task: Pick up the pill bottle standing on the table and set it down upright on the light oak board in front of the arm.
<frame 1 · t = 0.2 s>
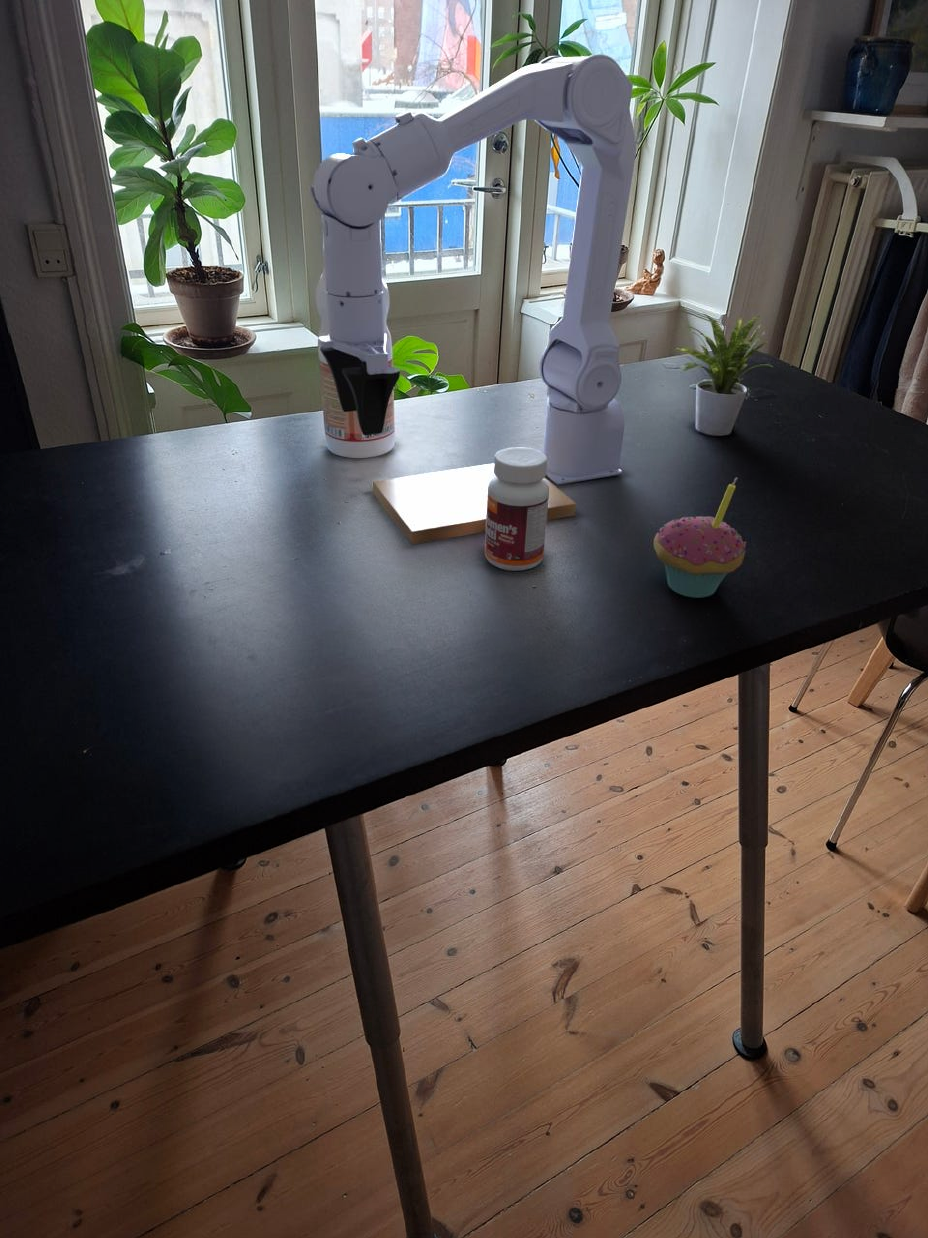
hand: (361, 421, 89), 10 cm above the table, tool pointing down, fingers open, 7 cm apart
pill bottle: (513, 559, 84), on the table
cupcake: (690, 588, 80), on the table
fruit juice: (360, 447, 109), on the table
oak board: (471, 504, 95), on the table
house plant: (712, 427, 119), on the table
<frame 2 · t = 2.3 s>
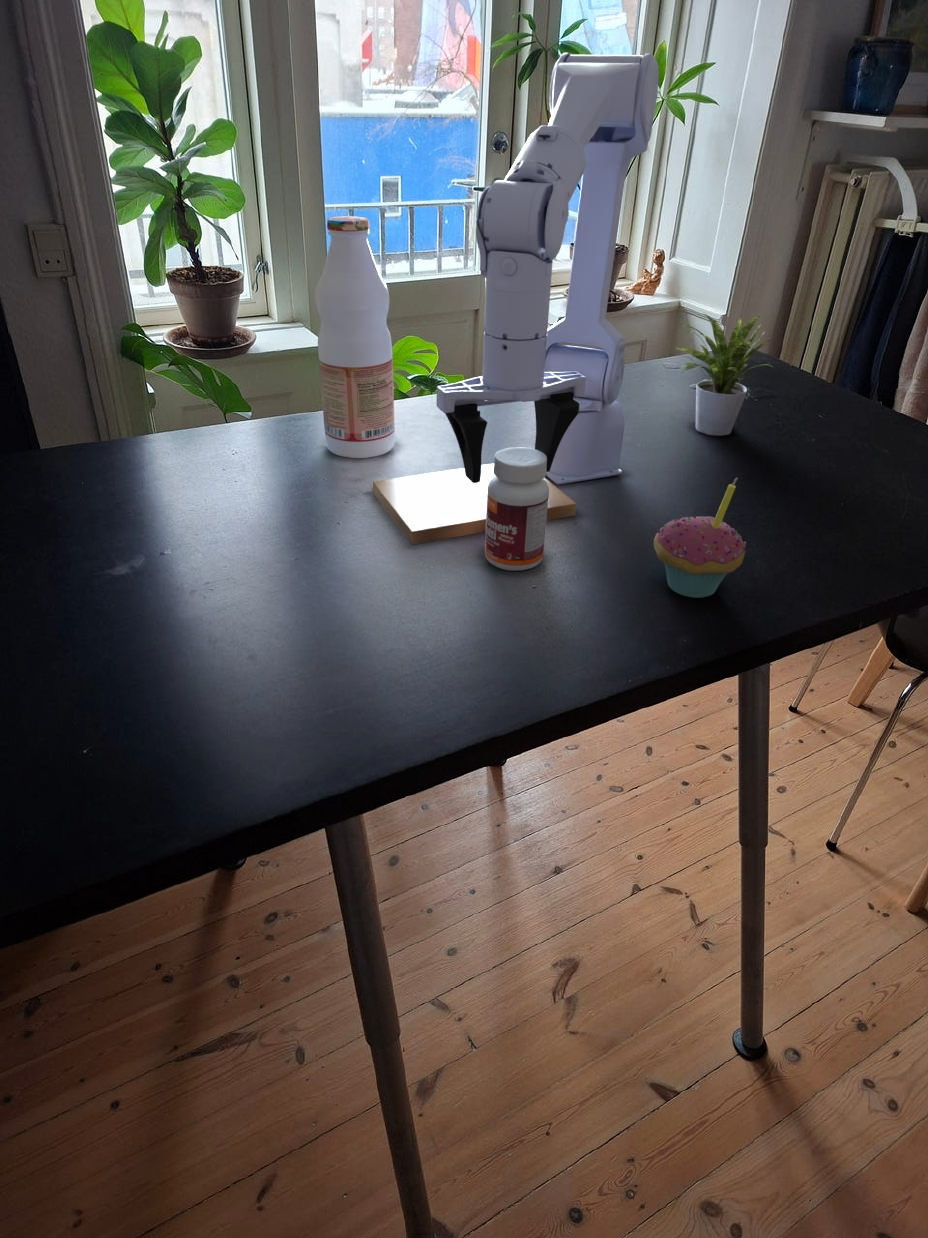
hand: (507, 473, 80), 9 cm above the table, tool pointing down, fingers open, 7 cm apart
nothing on the table moved.
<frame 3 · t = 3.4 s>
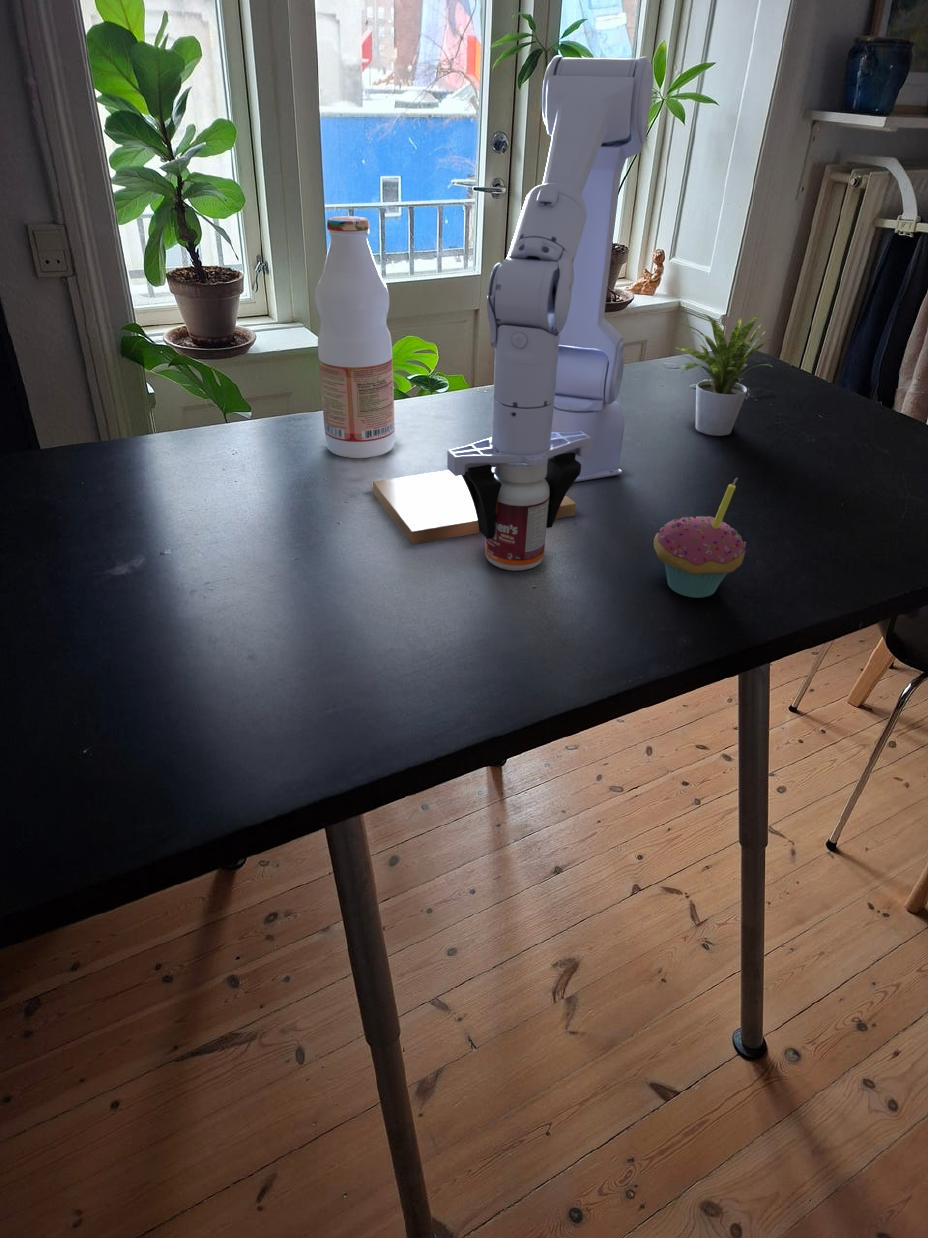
hand: (515, 529, 82), 3 cm above the table, tool pointing down, fingers closed on pill bottle, 6 cm apart
pill bottle: (514, 559, 84), on the table, touching gripper
everything else where it was.
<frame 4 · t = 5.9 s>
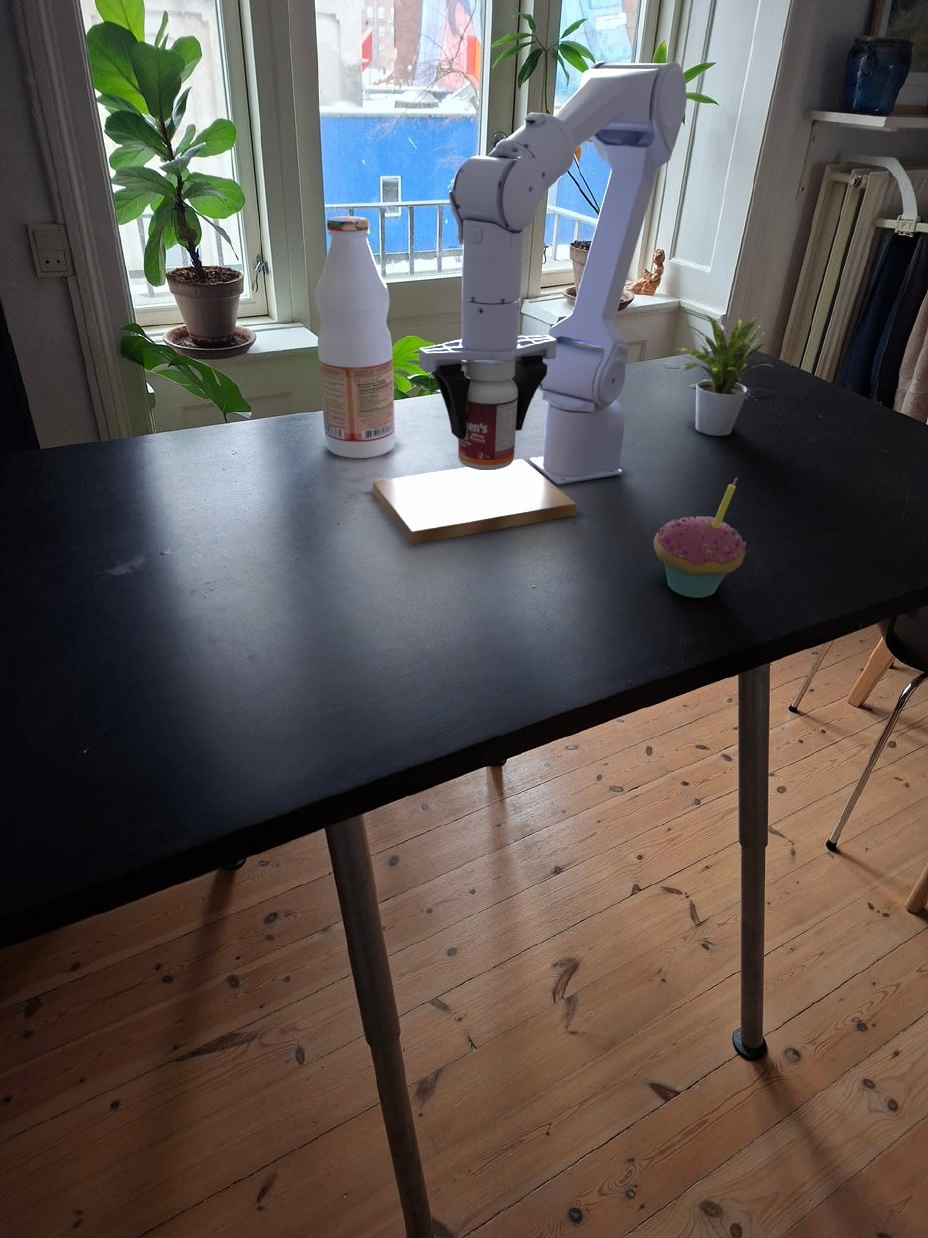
hand: (486, 431, 86), 10 cm above the table, tool pointing down, fingers closed on pill bottle, 6 cm apart
pill bottle: (486, 462, 88), point 7 cm above the table, touching gripper
everything else where it was.
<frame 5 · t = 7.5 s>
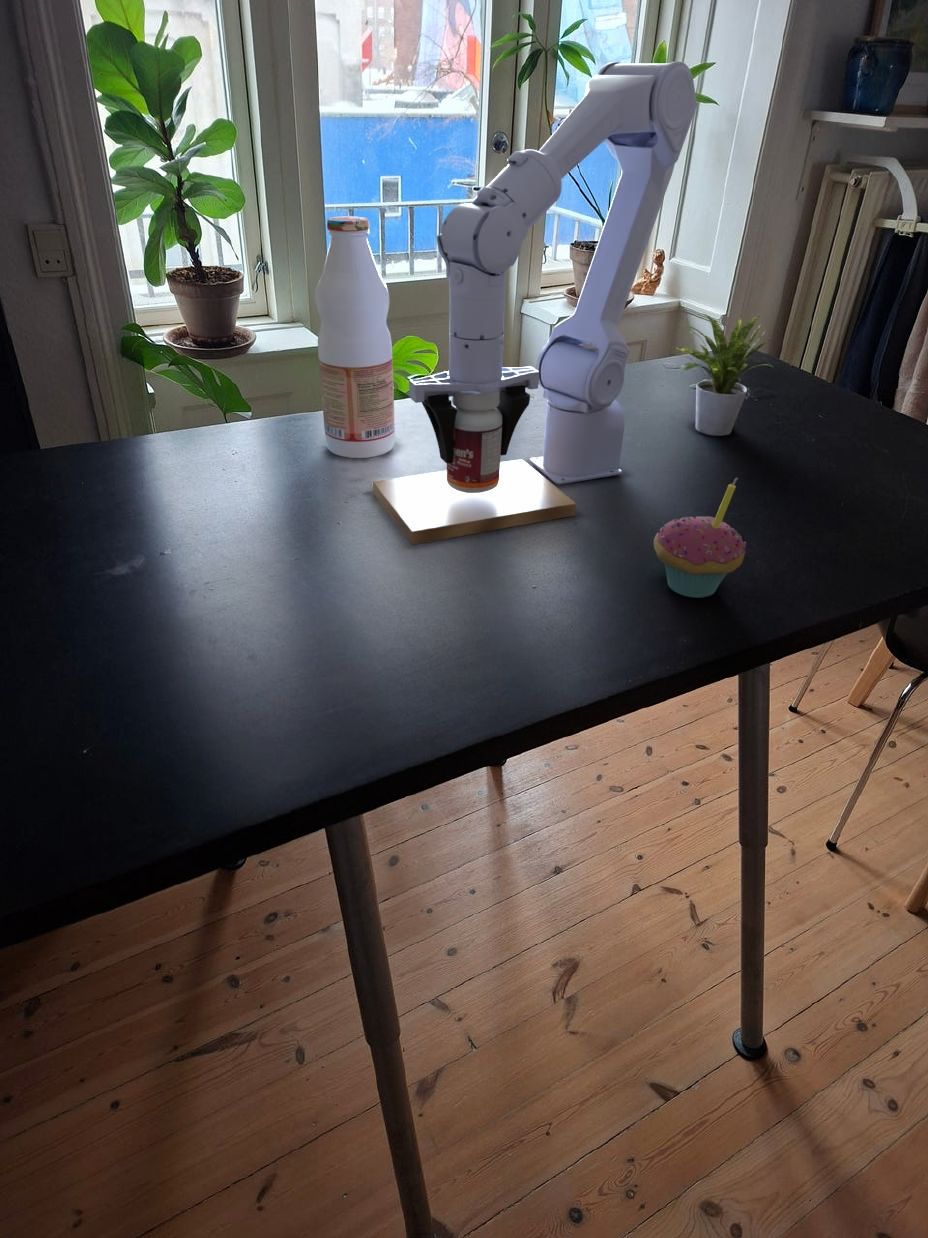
hand: (473, 456, 92), 6 cm above the table, tool pointing down, fingers closed on pill bottle, 6 cm apart
pill bottle: (472, 485, 94), point 2 cm above the table, touching gripper
everything else where it was.
when the fingers open (5 cm above the table, at t = 8.5 s): pill bottle stays where it is, resting on oak board.
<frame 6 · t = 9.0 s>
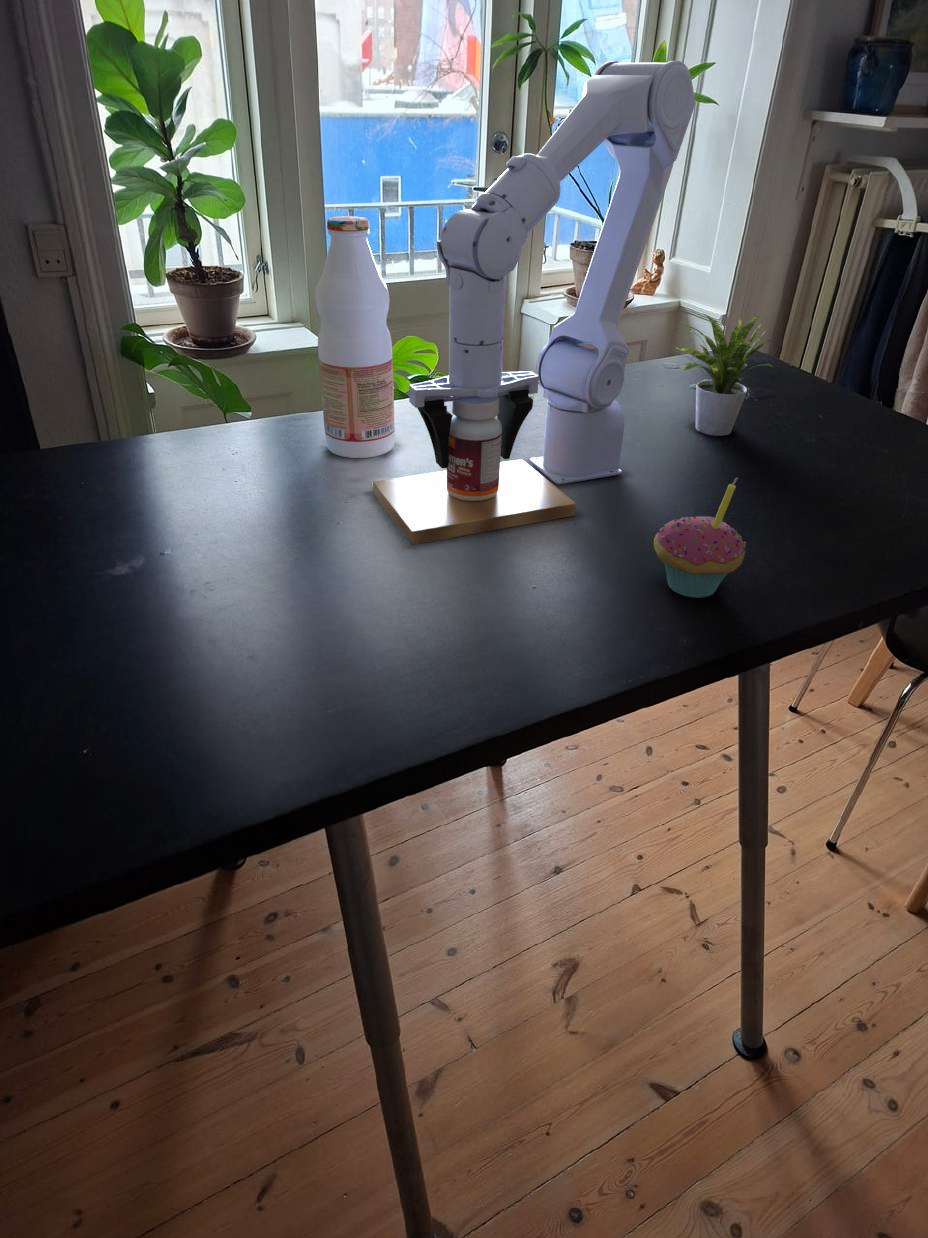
hand: (473, 460, 92), 6 cm above the table, tool pointing down, fingers open, 7 cm apart
pill bottle: (472, 493, 94), point 1 cm above the table, touching oak board
everything else where it was.
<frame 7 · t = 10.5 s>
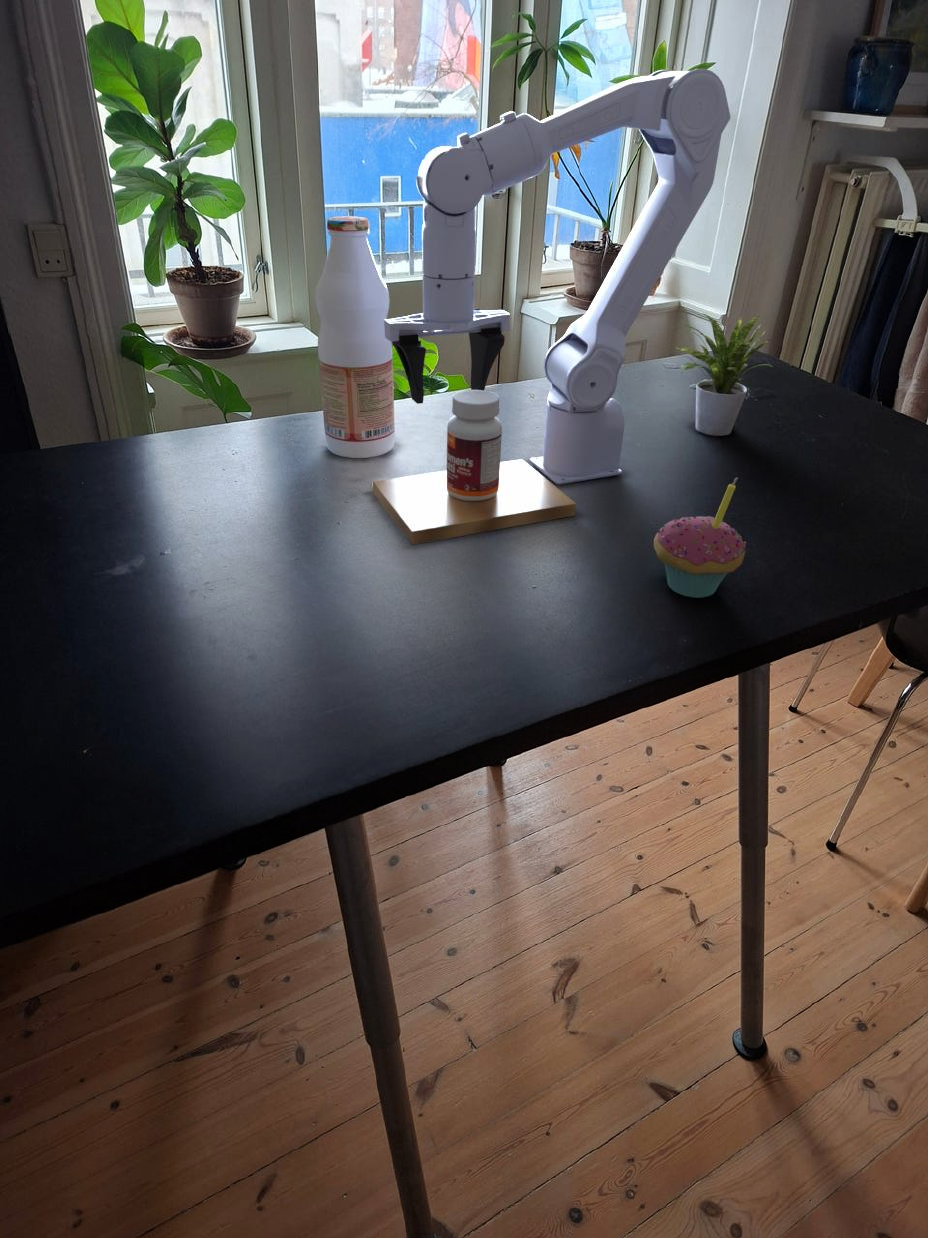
hand: (447, 397, 95), 10 cm above the table, tool pointing down, fingers open, 7 cm apart
nothing on the table moved.
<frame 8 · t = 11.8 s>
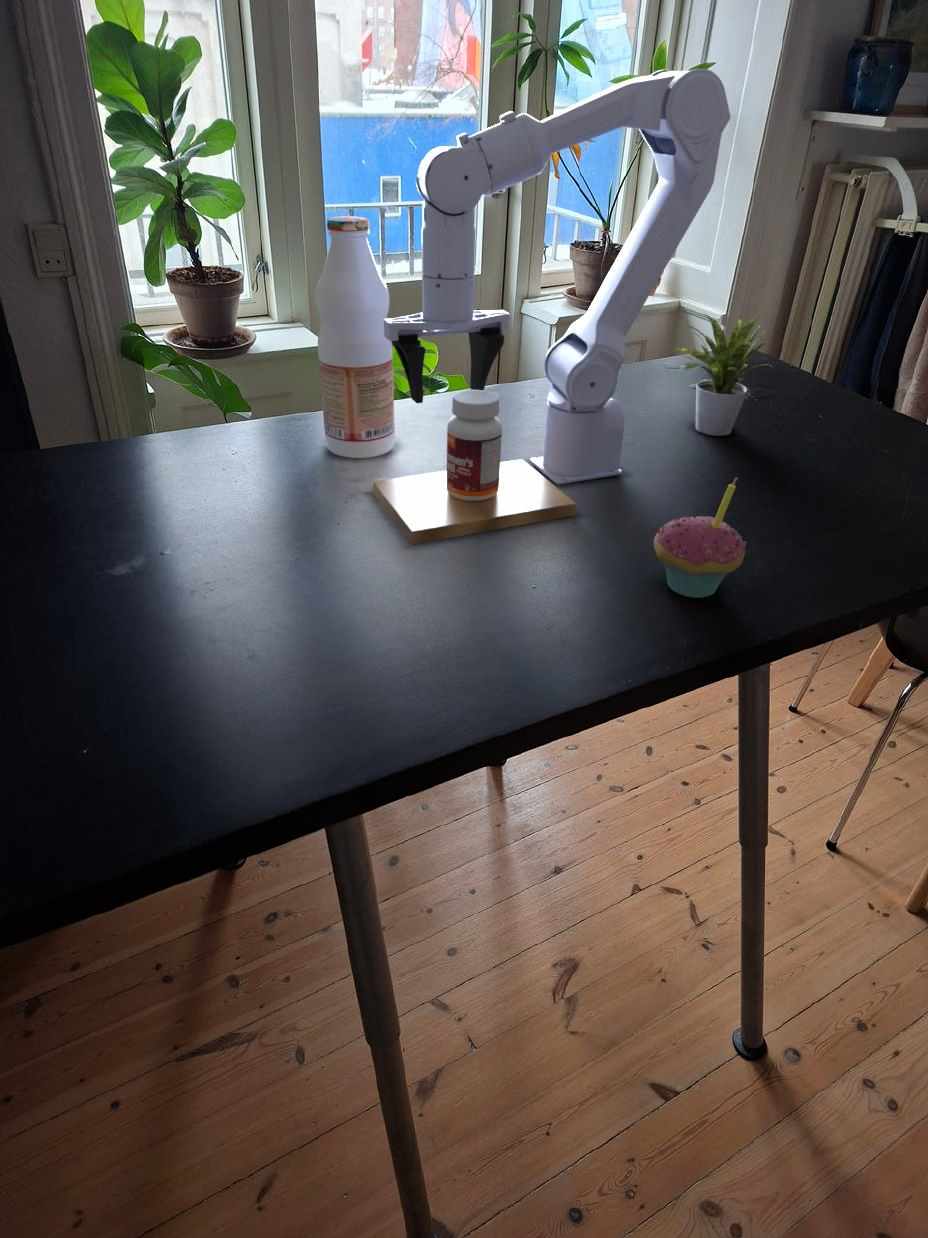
hand: (447, 396, 95), 10 cm above the table, tool pointing down, fingers open, 7 cm apart
nothing on the table moved.
at the end: pill bottle inside the target area on the oak board (0.1 cm from its centre), point 1.4 cm above the oak board's base; pill bottle tilted 0°; the gripper is holding nothing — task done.
